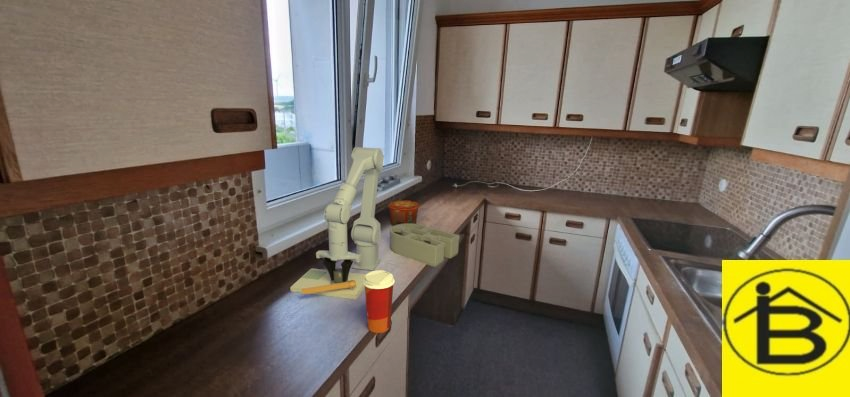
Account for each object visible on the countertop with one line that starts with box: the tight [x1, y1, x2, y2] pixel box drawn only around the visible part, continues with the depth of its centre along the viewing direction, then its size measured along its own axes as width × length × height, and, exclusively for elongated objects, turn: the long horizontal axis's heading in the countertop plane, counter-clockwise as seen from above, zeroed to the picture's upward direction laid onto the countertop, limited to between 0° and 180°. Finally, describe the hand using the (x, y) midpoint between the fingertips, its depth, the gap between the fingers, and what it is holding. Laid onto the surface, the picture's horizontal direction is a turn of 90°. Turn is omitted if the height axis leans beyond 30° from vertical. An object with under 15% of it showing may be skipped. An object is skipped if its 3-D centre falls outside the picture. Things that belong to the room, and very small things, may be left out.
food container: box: [387, 199, 420, 227], centre depth 181 cm, size 16×16×11 cm
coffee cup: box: [363, 269, 396, 334], centre depth 94 cm, size 8×8×15 cm
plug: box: [331, 267, 348, 284], centre depth 115 cm, size 6×6×6 cm
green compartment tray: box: [389, 223, 460, 268], centre depth 146 cm, size 17×28×9 cm, turn 53°
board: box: [289, 267, 367, 300], centre depth 117 cm, size 14×22×2 cm, turn 80°
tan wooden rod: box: [301, 280, 356, 295], centre depth 109 cm, size 2×16×1 cm, turn 112°
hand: (339, 279), depth 115 cm, fingers closed on plug, 4 cm apart
